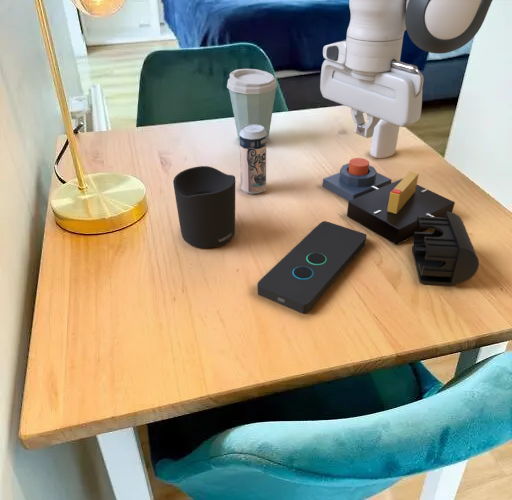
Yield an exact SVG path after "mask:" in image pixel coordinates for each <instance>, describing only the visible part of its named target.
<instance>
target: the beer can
mask: <svg viewBox="0 0 512 500" xmlns="http://www.w3.org/2000/svg"><path fill="white" fill-rule="evenodd" d="M266 134H267V133H266V131H265V129H264V127H263V126H261V125H257V124H250V125H245V126H243V127H242V130H241V132H240V134H239V135H240V141H239V160H240V161H239V163H240V164H239V165H240V166H239V167H240V189H241V190H242V192H245V193H247V194H251V195H255V194H260V193H262V192H264V191H266V189H267V143H266Z"/></svg>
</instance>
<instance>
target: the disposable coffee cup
mask: <svg viewBox="0 0 512 500" xmlns="http://www.w3.org/2000/svg"><path fill="white" fill-rule="evenodd" d="M277 83H278V82H277V78H276V77H275V76H274V74H272V73H270V72H268V71H266V70H261V69H256V68H237V69H234V70H233V71H230V73H229V78H228V79H227V84H226V88H227V89H228V92H229V97H230V103H231V108H232V112H233V118H234V123H235V128H236V134H237V139H238V141H239V142H240V135H239V134H240V132H241V130H242V127H243V126H245V125H250V124H257V125H261V126H263V127H264V129H265V131H266V133H267V134H266V144H267V143H268V140H269V137H270V131H271V124H272V119H273V111H274V104H275V103H274V102H275V99H276V93H277V92H276V91H277V88H278V84H277Z"/></svg>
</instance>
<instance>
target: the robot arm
mask: <svg viewBox="0 0 512 500" xmlns="http://www.w3.org/2000/svg"><path fill="white" fill-rule="evenodd" d="M492 2H493V0H349V2H348V7H349V12H350V20H349V23H348V27H347V30H346V39H343V40H341V41H336V42H333V43H329V44H326V45H324V46H323V48H322V56H323V59H324V60H323V62H322V64H321V71H320V80H319V81H320V83H319V89H320V93H321V95H322V97H323V98H324V99H327V100H329V101H332V102H335V103H336V104H340V105H342V106H345V107H348V108H351V110H350V114H351V118H352V120H353V123H354V134H356V135H357V136H361V137H363V138H366V139H370V138H372V136H373V133H374V127H375V126H376V125H377V123H378V122H379V121H380V119H382V120H385V121H387V122H390V123H393V124H395V125H398V126H399V127H401V128H406V127H409V126H412V125H414V124H416V123H417V122H418V121H419V120H420V119H421V116H422V107H423V106H422V105H423V86H424V75H423V74H422V72H421V70H419V67H418V66H417V65H416V64H415V65H414V64H411V63H410V64H409V63H406V62H403V61H401V56H402V49H403V43H404V35H405V31H406V32H407V35H408V37H409V39H410V40H411V42H412V43H413V44H414V45H415V46H416V47H417V48H419V49H420V50H422V51H424V52H428V53H431V54H438V55H439V54H440V55H441V54H447V53H451V52H455V51H457V50H459V49H461V48H463V47H464V46H466V45H467V44H469V42H470V41H472V40H473V38H474V37H475V36H476V35H477V34H478V32H479V31H480V29H481V28H482V26H483V23H484V22H485V20H486V18H487V14H488V12H489V10H490V8H491V5H492ZM364 114H366V120H368V121H367V122H366V121H365V117H364Z"/></svg>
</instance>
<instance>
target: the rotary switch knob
mask: <svg viewBox="0 0 512 500" xmlns="http://www.w3.org/2000/svg"><path fill="white" fill-rule="evenodd" d="M419 175H420V174H419V173H418V172H415V171H409V172H408V173H406V175H405V176H404V177H403V178H401V179H402V180H401V182H400V183H399V184H398V185H397V186H396V187H395V188H394V189H393V190H392V191H391V192H390V197H389V203H388V209H387V211H388V212H391V213H395V214H397V213H398V211H399V210H400V209H401V208H402V207H403V206H404V204H405V203H406V202H407V201H408V200H409V198H410V197H411V196H412V195H413V194H414V192H415V190H416V185H418V179H419Z"/></svg>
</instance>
